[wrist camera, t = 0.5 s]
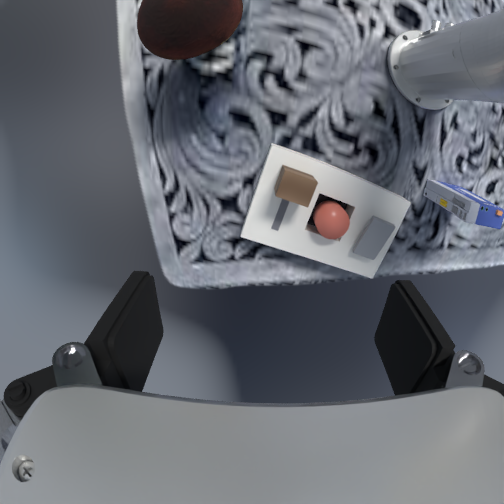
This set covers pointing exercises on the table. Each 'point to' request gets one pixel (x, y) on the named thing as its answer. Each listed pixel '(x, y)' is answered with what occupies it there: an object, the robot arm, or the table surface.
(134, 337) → the robot arm
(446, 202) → the walkman
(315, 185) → the walnut slider
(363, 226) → the control panel
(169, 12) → the decorative mushroom
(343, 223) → the red button
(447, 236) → the table surface
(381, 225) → the grey rocker
